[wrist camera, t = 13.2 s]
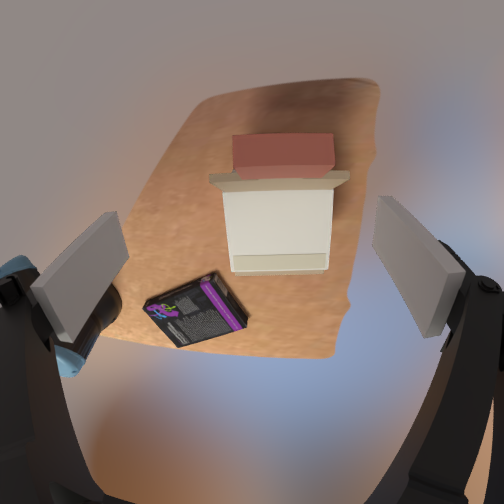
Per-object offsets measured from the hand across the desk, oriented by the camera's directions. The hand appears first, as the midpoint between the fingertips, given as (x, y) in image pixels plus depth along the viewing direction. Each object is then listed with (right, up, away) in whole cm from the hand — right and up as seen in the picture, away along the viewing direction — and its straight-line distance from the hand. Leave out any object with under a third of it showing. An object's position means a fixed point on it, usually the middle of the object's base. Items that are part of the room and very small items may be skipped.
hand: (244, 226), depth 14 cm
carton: (+5, +7, +35) cm, 36 cm away
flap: (+3, +5, +12) cm, 13 cm away
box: (-12, -14, +49) cm, 53 cm away
